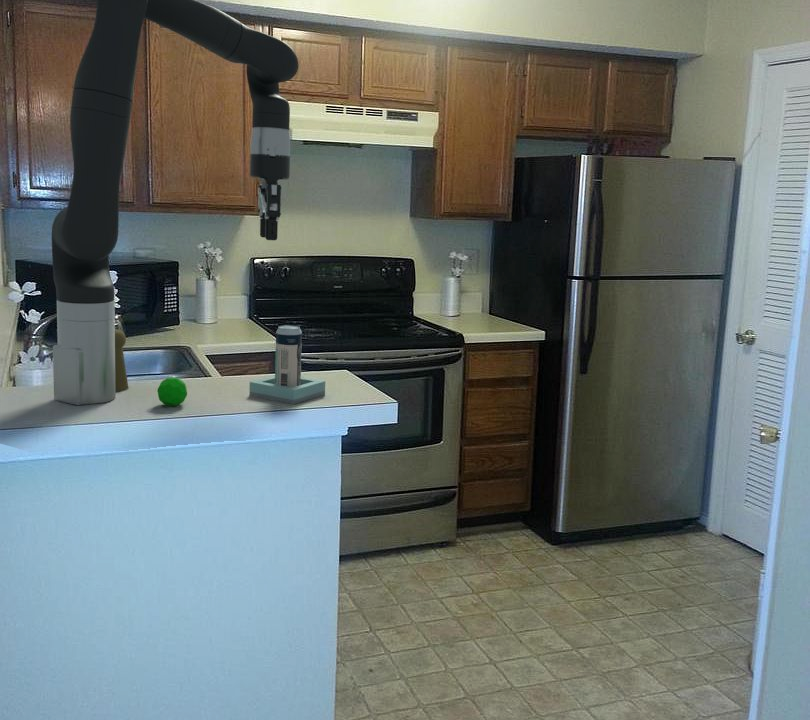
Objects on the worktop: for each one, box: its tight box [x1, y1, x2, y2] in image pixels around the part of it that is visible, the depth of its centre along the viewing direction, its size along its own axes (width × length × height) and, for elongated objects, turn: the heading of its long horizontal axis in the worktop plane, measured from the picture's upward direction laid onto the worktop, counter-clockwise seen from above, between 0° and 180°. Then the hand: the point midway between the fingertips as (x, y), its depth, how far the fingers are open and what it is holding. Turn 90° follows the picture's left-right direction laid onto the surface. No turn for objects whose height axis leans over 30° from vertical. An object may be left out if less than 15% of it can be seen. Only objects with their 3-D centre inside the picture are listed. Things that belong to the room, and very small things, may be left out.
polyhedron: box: [156, 376, 188, 407], centre depth 143 cm, size 5×5×5 cm
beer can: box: [274, 324, 303, 387], centre depth 154 cm, size 5×5×12 cm
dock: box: [248, 375, 326, 405], centre depth 155 cm, size 10×10×3 cm
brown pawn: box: [115, 328, 129, 393], centre depth 152 cm, size 6×6×11 cm
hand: (268, 238), depth 162 cm, fingers open, 8 cm apart
